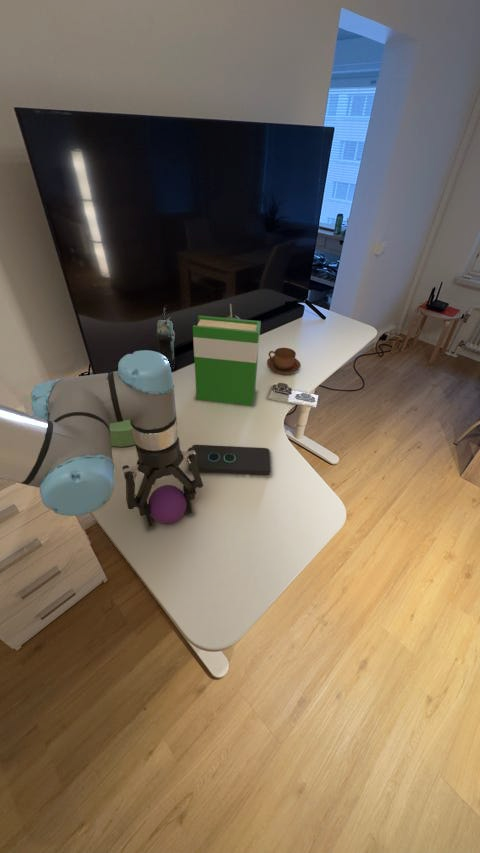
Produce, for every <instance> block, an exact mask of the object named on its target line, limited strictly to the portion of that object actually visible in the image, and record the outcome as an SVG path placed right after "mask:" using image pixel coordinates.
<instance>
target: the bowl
mask: <svg viewBox="0 0 480 853" xmlns="http://www.w3.org/2000/svg"><path fill="white" fill-rule="evenodd" d="M110 441H111V447H119V448H123V447H130V446H135V441H134V437H133V432H132V427H131V423H130V420H124V421H122V422H116V423H110Z"/></svg>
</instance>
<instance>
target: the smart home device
mask: <svg viewBox="0 0 480 853" xmlns="http://www.w3.org/2000/svg"><path fill="white" fill-rule="evenodd" d="M191 448H194V450H195V452H196V454H197V457H198V459H197V467H198V470H199V473H210V474H211V473H212V474H231V475H251V476H253V475H255V476H269V475H271V474H270V472H271V458H270V448H268V447H256V446H255V447H253V446H252V447H251V446H231V445H212V444H211V445H209V444H193V445H192V447H191ZM188 472H191V473H192V471H191V468H190V465H189V464H188Z"/></svg>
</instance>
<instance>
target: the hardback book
mask: <svg viewBox="0 0 480 853" xmlns="http://www.w3.org/2000/svg"><path fill="white" fill-rule="evenodd" d="M261 325H262V321H261V320H252V319H250V320H249V319H243V318H242V319H241V318H240V319H231V318H226V317H219V316H209V315H198V316H197V325H195V324H193V326H192V341H193V358H194V359H193V360H194V375H195V376H194V377H195V397H196V400H200V401H209V402H217V403H227V404H235V405H245V406H251V407H253V406H254V401H255V394H256V385H257V375H258V361H259V350H260V339H261V338H260V337H261Z"/></svg>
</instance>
